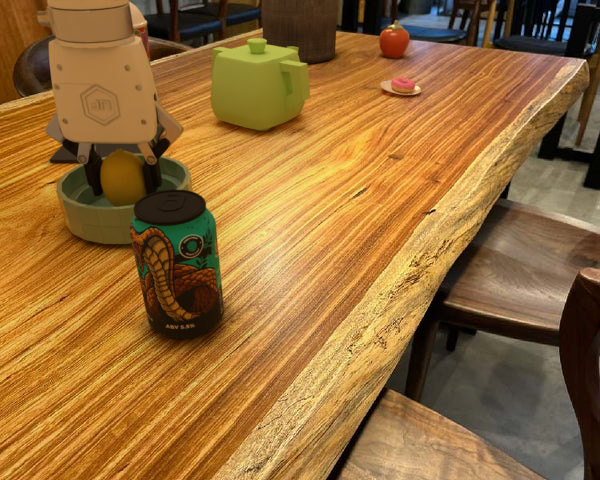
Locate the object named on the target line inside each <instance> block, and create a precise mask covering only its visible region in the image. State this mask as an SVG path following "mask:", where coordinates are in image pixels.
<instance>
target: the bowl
mask: <svg viewBox="0 0 600 480" xmlns="http://www.w3.org/2000/svg"><path fill="white" fill-rule="evenodd" d="M135 155H136V156H138V157H139V158H140V160H141V161H142V162H143V163H144V162H145V160H144V156H143V155H142V154H135ZM105 158H106V157H103V158H102V162H103V161H104V159H105ZM159 165H160V171H161V177H162V185H161V187H158V189H157V191H156V192H158V191H163V190H172V189H176V190H187V191H192V192H194V189H193V181H192V175H191V172H190V169H189V167H188V166H187V165H185V163H183V162H182V161H180V160H178V159H176V158H172V157H169V156H166V155H162V156H161V157H160V158H159ZM55 192H56V195H57V199H58V203H59V206H60V210H61V213H62V216H63V220H64V223H65V226H66V227H67V229H69V231H70V233H71V234H72V235H74V236H76V237H78V238H80V239H82V240H84V241H88V242H92V243H97V244H101V245H102V244H104V245H128V244H132V242H131V237H130V231H129V227H130V224H131V221H132V219H133V217H134V209H133V208H134V205H128V206H120V207H115V206H114V205H112V204H111V203H110V202H109V201H108V199H107V198H106V196H105V195H104V192H103V193H102V195H100V196H94V193H93V189H92V186H89V185H88V181H87V177H86V173H85V169H84V165H83V164H81V163H80V164H78V165H76V166H74V167H73V168H71V169H69V170H68V171H67V172H65V173H64V174H63V175H62V176H61V177H60V178H59V180H57V182H56V190H55Z"/></svg>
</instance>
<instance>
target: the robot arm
mask: <svg viewBox="0 0 600 480" xmlns="http://www.w3.org/2000/svg"><path fill="white" fill-rule="evenodd" d="M46 2H47V5H46V9H44V10H38V11H37V12H36V19H37V22H38V24H39V26H40V27H47V28H49V29H51V32H52V36H54V37H55V38H54V39H52V40H50V41H48V60H49V61H48V63H49V70H50V71H49V72H50V79H51V87H52V93H53V99H54V104H55V105H54V106H55V109H56V110H55V112H54V114H53V115H52V117H51V119H50V120H49V122H47V125H46V126H45V128H44V132H45V134H46V135H47V136H49V137H50V138H51V139H53V140H55V142H56V143H58V144H61V146H62V145H63V147H64V148H65V149H67V150H68V151H69V152H71V153H72V154H73V155H74V156H76V157H77V160H78V161H79V162H80V163H79V164H80V165H81V164H83V165H84V169H85V173H86V177H87V181H88V185H89V186H92V189H93V193H94V196H100V195H102V193H103V189H102V186H101V181H100V170H101V166H102V163H103V162H102V158H101V156H100V154H97V153H96V152H95V150H96V143H105V144H137V145H138V147H139V149H140V151H141V153H142V155H143V156H144V160H145V162H144V164H143V166H142V169H143V174H144V180H145V186H146V191H147V195H148V194H151V193H154V192H156V191H157V189H158V187H161V185H162V177H161V171H160V165H159V158H160V157H161V156H164V154H165V153H166V151H167V150H169V148H170V147H171V146H172V145H173V144H174V143H175V142H176V141H177V140H178V139H179V138H181V136H182V134H183V132H184V126H183V125H182V124H181V123H180V122H179V121H178V120H177V119H176V118H175V117H174V116H173V115H172V114H171V113H170V112H169V111H168V110H166V109H165V107H164V106H163V105H162V104H161V103H160V101H159V96H158V92H157V87H156V83H155V78H154V75H153V71H152V66H151V67H150V64H151V62H150V63H149V60H148V57H147V54H146V51H145V48H144V45H143V42H142V40H141V38H140V37H138V36H135V35H134V29H133V23H132V17H131V10H130V4H129V2H130V0H46ZM161 125H162V126H163V127H164V128H165V129H164V131H165V133H164V134H163V135H161V136H160V138H159V139H158V141H156V139H155V137H154V136H155V135H156V132H157V128H159V127H160V126H161Z"/></svg>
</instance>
